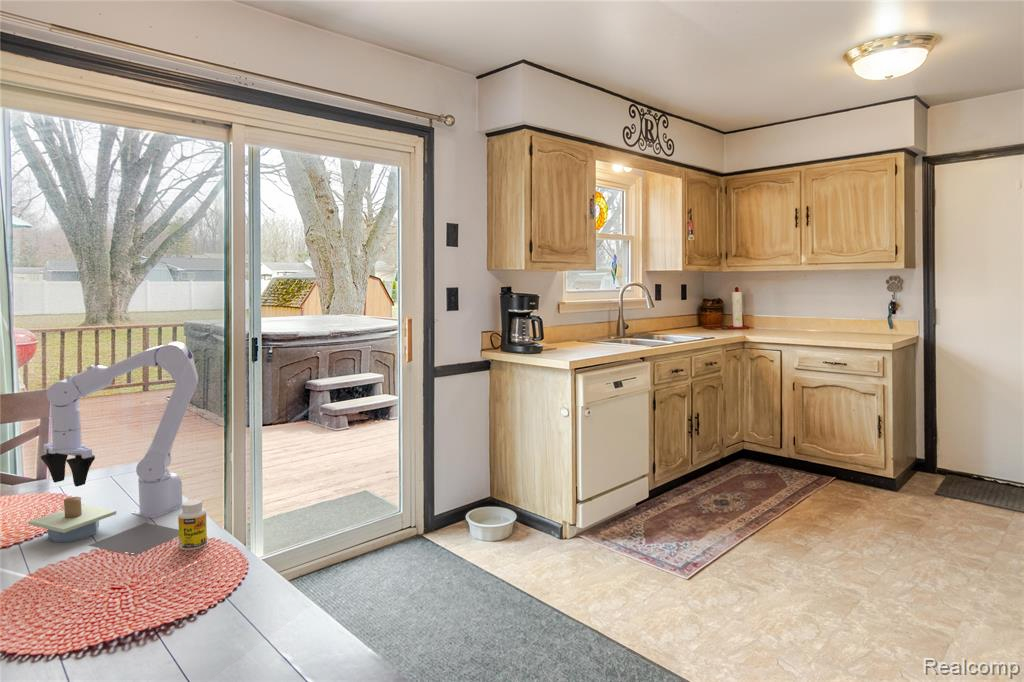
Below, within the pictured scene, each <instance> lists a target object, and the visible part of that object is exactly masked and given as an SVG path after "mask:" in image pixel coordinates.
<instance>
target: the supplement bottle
mask: <svg viewBox="0 0 1024 682" xmlns="http://www.w3.org/2000/svg"><path fill="white" fill-rule="evenodd" d="M177 517H178V518H177V519H178V520H177V521H178V529H179V536H178V546H179V548H180V550H184V551H191V550H192V551H193V550H197V549H200V548H202V547H204V546H206V545H207V543H208V536H207V535H208V534H207V531H208V530H207V528H208V527H207V509H205V508H204V507H203V501H202V500H201V499H196V498H195V499H189V500H185V501H182V507H181V511H179V512H178V515H177Z"/></svg>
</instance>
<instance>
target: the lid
mask: <svg viewBox="0 0 1024 682" xmlns="http://www.w3.org/2000/svg"><path fill="white" fill-rule="evenodd" d="M63 508H64V509H61V510H58V511H56V512H52V513H48V514H46V515H43V516H40V517H37V518H33V519H29V520H28V522H27V523H28V524H27V525H28V526H33V527H38V528H40V529H42V528H43V529H46V530H48V529H49V530H54V531H58V532H62V533H65V532H68V531H71V530H73V529H76V528H79V527H82V526H85V525H87V524H90V523H93V522H96V521H99V522H100V521H101V520H104V519H107V518H110V517H113V516H115V515H117V510H113V509H109V508H104V507H99V506H96V505H91V504H85V503H82V497H81V496H71V497H68V498H67V497H66V498H65V499H63Z"/></svg>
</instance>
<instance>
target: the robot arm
mask: <svg viewBox="0 0 1024 682" xmlns="http://www.w3.org/2000/svg"><path fill="white" fill-rule="evenodd" d="M146 366H147V367H152V368H156V367H158V366H159V367H161V369H163V370H164V371H166V372H167V373H168V374H169V376H170V377H171V378H172V379H173V381H174V383H175V384H174V388H173V390H172V392H171V395H170V398H169V400H168V403H167V404H166V408H165V410H164V412H163V414H162V416H161V419H160V422H159V425H158V427H157V429H156V432H155V433H154V434H155V435H154V437H153V440H152V442H151V443H150V446H149V447H148V449H147V451H146V453H145V455H144V457H142V459H141V460H140V461H139V462H138V463H137V465H136V469H135V472H136V474H137V476H138V503H139V504H138V505H139V509H137V510H134V511H131V514H132V515H136V516H141V517H146V518H152V519H154V518H158V517H160V516H162V515H165V514H167V513H169V512H173V511H176V510H178V509H180V508H181V509H182V503H183V484H182V479H181V478H180V476H179V475H178V473H175V472H170V470H168V467H169V466H170V464H171V461H172V456H171V452H172V449H173V446H174V442H175V439H176V437H177V435H178V433H179V430H180V427H181V426H182V425H181V424H182V422H183V420H184V417H185V414H186V412H187V409H188V408H189V405H190V402H191V400H192V397H193V395H194V392H195V390H196V387H197V385H198V382H199V375H198V371H197V367H196V363H195V359H194V353H193V352H192V350H190V348H189V347H188V346H187V345H186V344H185V343H183V342H181V341H171V342H169V343H167V344H165V345H164V344H161V345H158V346H154V347H151V348H148V349H145V350H143V351H140V352H138V353H136V354H133V355H131V356H129V357H127V358H126V359H122V360H121V361H118V362H116V363H114V364H112V365H109V366H104V365H102V364H101V365H100V364H98V365H95V366H94V364H91V365H89V366H86V369H85V370H84V371H80V372H78V373H77V374H74V375H72V374H69V375H67V376H66V377H65V378H66V379H65V378H64V379H61V380H58V381H56V382H54V383H53V384H51V385H50V386H49V387H48V388H47V390H46V399H47V401H48V402H49V403H50V418H51V419H50V420H51V421H50V422H51V436H52V439H51V440H52V442H49V443H44V444H43V445H42V446H43V452H44V453H46V454H43V455H41V456H40V459H41V460H42V461H43V462H44V464H45V465H46V467H47V469H48V471H49V474H50V476H51V478H52V482H53V483H59V482H63V481H64V480H65V477H66V465H67V464H68V466H69V468H70V470H71V471H70V472H71V474H72V481H73V485H74V487H79V486H80V487H81V486H83V485H86V482H87V478H88V473H89V470H90V468H91V466H92V464H93V462H94V460H95V459H96V455H93V448H90V447H87V446H86V445H84V444H82V443H83V441H82V428H81V427H82V426H81V425H82V424H81V410H80V400H79V399H80V398H81V397H82V398H85V397H87V396H89V395H92V394H94V393H96V392H99V391H101V390H103V389H106V388H108V387H110V386H111V385H112V383H113V381H114V379H115V378H117V377H120V376H122V375H125V374H127V373H130V372H133V371H135V370H138V369H140V368H142V367H146ZM68 456H73V457H71V458H68Z"/></svg>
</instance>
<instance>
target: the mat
mask: <svg viewBox="0 0 1024 682" xmlns="http://www.w3.org/2000/svg"><path fill="white" fill-rule="evenodd" d="M176 538H179V528H173V527H170V526H169V527H168V526H163V525H160V524H159V525H158V524H154V523H149V522H144V523H141V524H138V525H137V526H134V527H132V528H129V529H126V530H124V531H121V532H118V533H117V534H113V535H110V536H109V537H106V538H104V539H101V540H98V541H95V542H93V543H91V544H88V546H89V547H94V548H98V549H102V550H107V551H111V552H114V553H115V552H116V553H119V554H123V553H125V552H129V554H130V555H129V556H132V555H133V557H135V556H137V555H139V554H141V553H144V552H146V551H148V550H150V549H153V548H155V547H157V546H159V545H163V544H164V543H166V542H168V541H169V542H170V541H171V540H173V539H176ZM131 553H134V554H131Z"/></svg>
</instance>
